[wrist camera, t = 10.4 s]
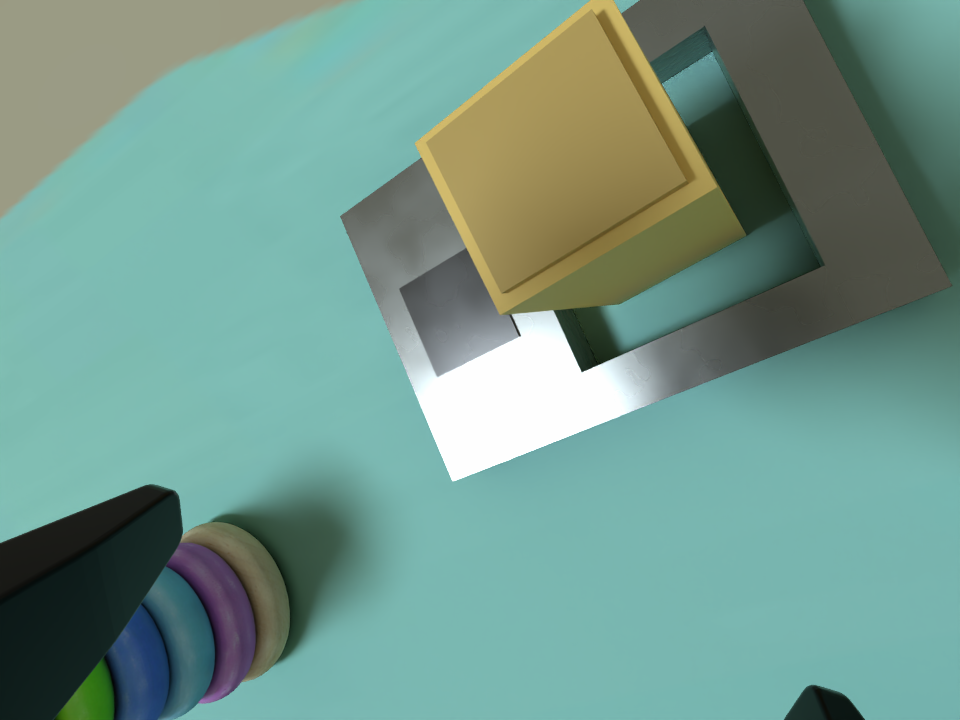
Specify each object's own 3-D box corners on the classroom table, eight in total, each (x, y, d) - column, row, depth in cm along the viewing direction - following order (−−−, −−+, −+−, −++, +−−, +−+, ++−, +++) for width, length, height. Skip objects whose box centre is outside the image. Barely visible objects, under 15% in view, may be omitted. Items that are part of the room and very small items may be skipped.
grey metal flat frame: (934, 286, 17) (953, 285, 15) (476, 467, 24) (451, 482, 22) (760, -48, 18) (758, -87, 16) (371, 221, 25) (338, 215, 23)
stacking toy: (279, 511, 29) (-388, 808, 12) (314, 671, 29) (-303, 1178, 13) (175, 521, 33) (-451, 761, 16) (206, 663, 33) (-384, 1049, 16)
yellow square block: (746, 235, 19) (715, 184, 10) (619, 304, 21) (493, 315, 12) (686, 126, 19) (601, -21, 10) (567, 204, 21) (406, 139, 12)
